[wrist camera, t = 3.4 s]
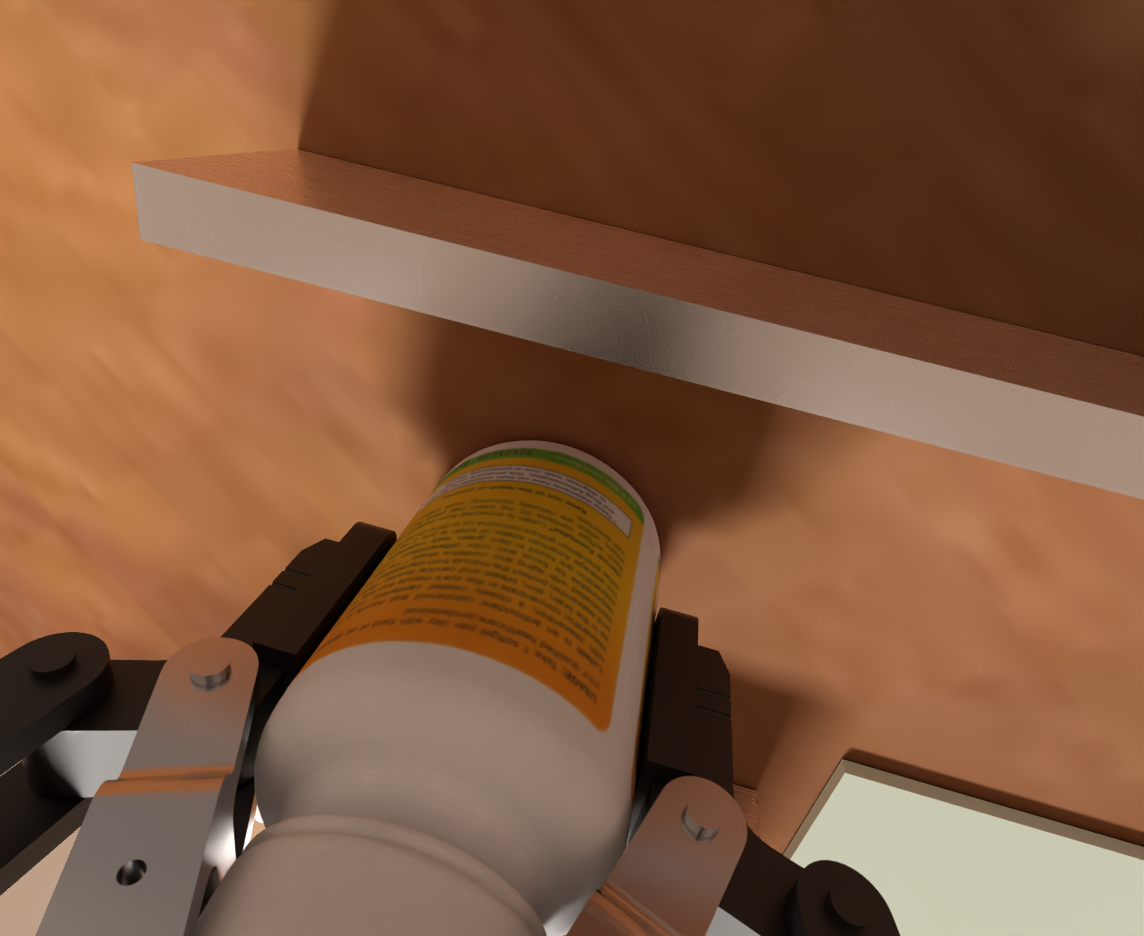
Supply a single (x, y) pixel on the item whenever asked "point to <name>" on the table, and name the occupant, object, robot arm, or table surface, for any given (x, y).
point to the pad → (971, 861)
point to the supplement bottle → (463, 718)
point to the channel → (663, 311)
